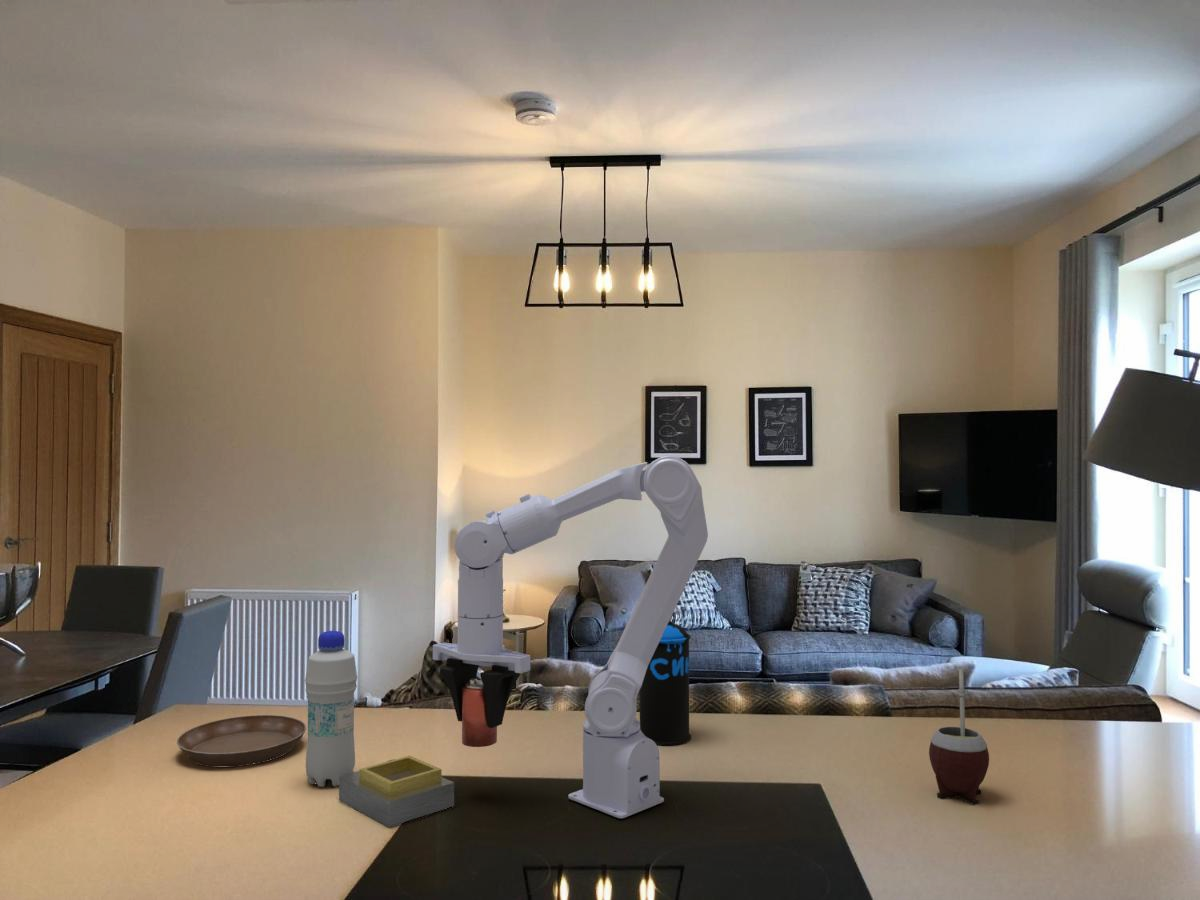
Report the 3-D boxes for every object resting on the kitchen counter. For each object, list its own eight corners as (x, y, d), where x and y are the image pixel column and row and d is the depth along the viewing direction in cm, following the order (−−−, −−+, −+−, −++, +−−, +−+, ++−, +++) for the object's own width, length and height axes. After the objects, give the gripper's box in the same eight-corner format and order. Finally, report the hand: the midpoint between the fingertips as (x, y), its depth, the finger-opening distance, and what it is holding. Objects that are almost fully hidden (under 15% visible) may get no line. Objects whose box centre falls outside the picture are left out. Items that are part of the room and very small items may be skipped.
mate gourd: (953, 808, 106) (952, 685, 107) (914, 786, 114) (913, 671, 114) (1004, 802, 108) (1003, 681, 109) (962, 780, 116) (961, 668, 116)
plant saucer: (266, 776, 118) (266, 754, 118) (149, 769, 121) (149, 747, 121) (326, 737, 135) (327, 717, 136) (223, 731, 138) (223, 712, 138)
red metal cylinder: (503, 741, 110) (504, 678, 110) (475, 749, 107) (476, 684, 107) (482, 734, 113) (483, 672, 113) (455, 741, 110) (455, 678, 110)
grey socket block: (454, 806, 106) (454, 770, 107) (389, 828, 100) (389, 788, 100) (394, 779, 116) (395, 745, 116) (332, 796, 110) (333, 761, 110)
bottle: (341, 792, 111) (342, 636, 112) (293, 788, 113) (295, 634, 113) (365, 774, 118) (366, 627, 119) (320, 771, 119) (321, 625, 120)
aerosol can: (628, 733, 136) (628, 606, 137) (674, 727, 140) (674, 603, 140) (653, 749, 129) (653, 614, 129) (701, 741, 132) (700, 610, 133)
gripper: (545, 615, 110) (544, 723, 109) (458, 606, 117) (457, 706, 117) (510, 624, 104) (510, 738, 103) (421, 613, 111) (420, 719, 111)
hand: (479, 722), depth 110 cm, fingers closed on red metal cylinder, 4 cm apart
